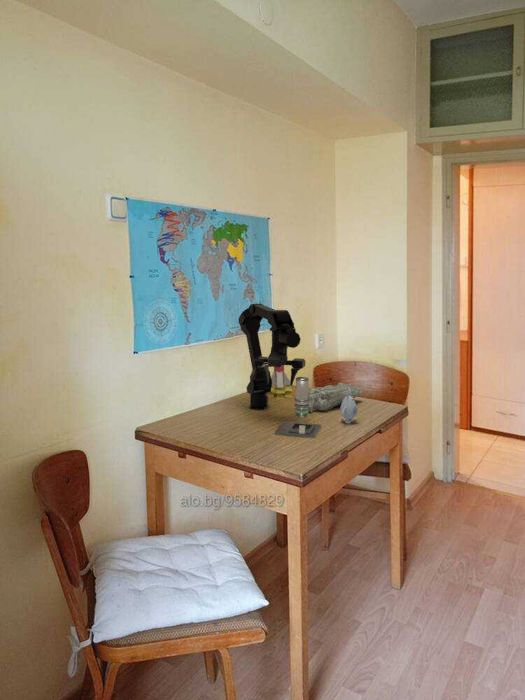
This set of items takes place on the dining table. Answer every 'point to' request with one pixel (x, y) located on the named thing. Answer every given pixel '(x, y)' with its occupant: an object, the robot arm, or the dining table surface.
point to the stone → (330, 396)
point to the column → (302, 397)
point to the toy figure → (348, 408)
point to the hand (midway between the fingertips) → (279, 384)
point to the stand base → (298, 429)
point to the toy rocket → (280, 384)
